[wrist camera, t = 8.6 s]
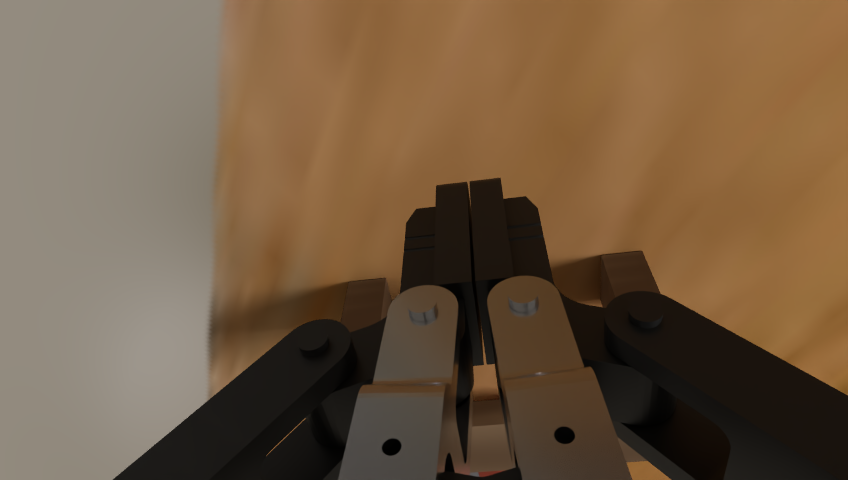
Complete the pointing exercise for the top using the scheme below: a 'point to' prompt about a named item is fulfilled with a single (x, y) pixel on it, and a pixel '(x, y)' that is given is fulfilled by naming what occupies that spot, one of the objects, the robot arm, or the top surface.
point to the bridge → (488, 431)
